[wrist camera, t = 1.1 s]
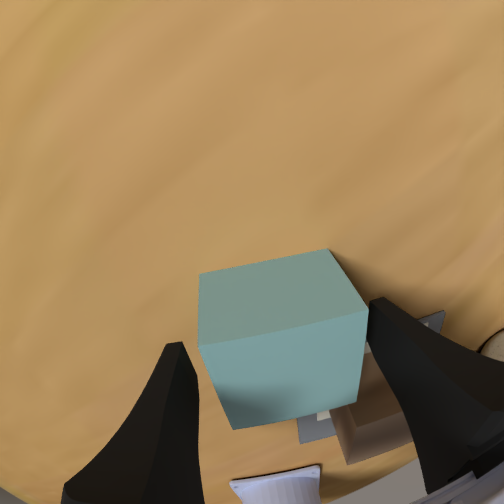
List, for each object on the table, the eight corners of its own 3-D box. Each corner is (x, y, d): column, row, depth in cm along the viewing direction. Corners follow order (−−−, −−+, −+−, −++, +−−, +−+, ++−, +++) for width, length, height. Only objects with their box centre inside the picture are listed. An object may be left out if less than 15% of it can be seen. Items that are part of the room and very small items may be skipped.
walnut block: (400, 389, 17) (424, 435, 14) (329, 412, 17) (347, 465, 14) (415, 337, 15) (450, 389, 11) (331, 363, 15) (356, 427, 11)
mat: (411, 406, 20) (412, 409, 19) (299, 441, 19) (300, 445, 19) (443, 310, 15) (446, 313, 15) (289, 356, 15) (291, 360, 14)
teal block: (328, 337, 15) (356, 401, 11) (226, 359, 14) (232, 429, 11) (326, 246, 12) (368, 309, 9) (199, 271, 12) (197, 346, 8)
